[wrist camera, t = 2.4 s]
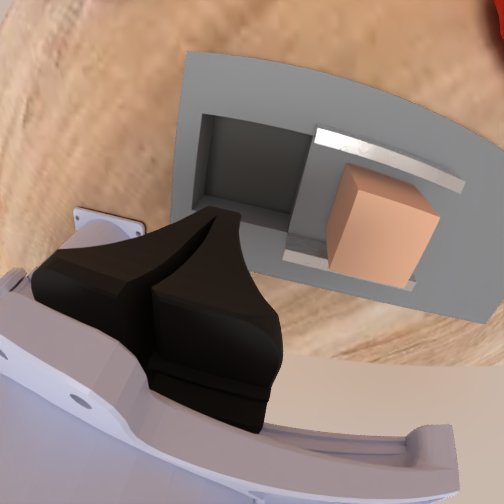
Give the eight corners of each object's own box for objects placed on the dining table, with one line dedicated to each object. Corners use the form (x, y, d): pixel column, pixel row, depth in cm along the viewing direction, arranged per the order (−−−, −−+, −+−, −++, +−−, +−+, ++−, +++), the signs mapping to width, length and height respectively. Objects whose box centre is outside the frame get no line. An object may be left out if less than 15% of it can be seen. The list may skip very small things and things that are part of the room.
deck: (474, 303, 23) (485, 324, 21) (183, 230, 24) (169, 250, 22) (540, 178, 15) (559, 192, 13) (203, 54, 16) (187, 51, 14)
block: (387, 245, 18) (403, 288, 15) (325, 228, 19) (328, 269, 15) (413, 184, 16) (440, 217, 12) (346, 162, 16) (358, 189, 12)
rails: (404, 273, 19) (411, 291, 18) (284, 243, 20) (282, 259, 18) (451, 170, 15) (465, 181, 13) (316, 122, 15) (317, 128, 14)
